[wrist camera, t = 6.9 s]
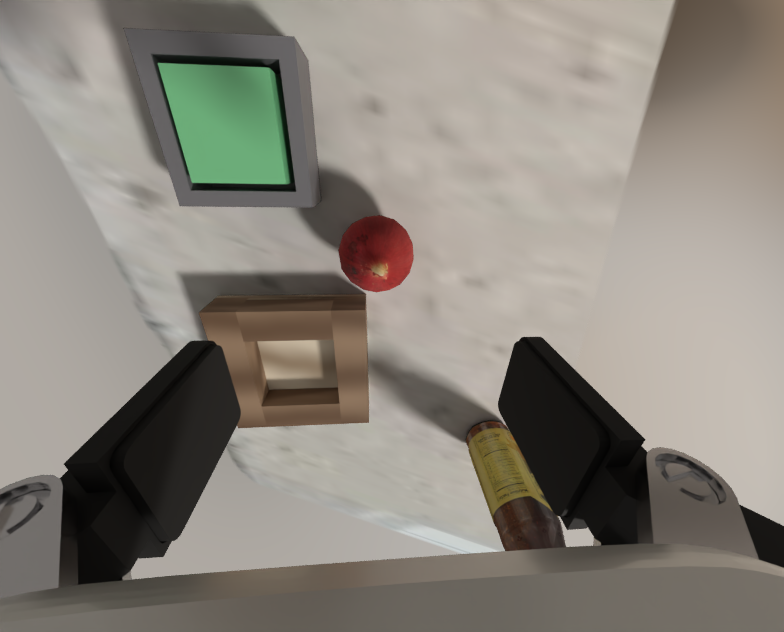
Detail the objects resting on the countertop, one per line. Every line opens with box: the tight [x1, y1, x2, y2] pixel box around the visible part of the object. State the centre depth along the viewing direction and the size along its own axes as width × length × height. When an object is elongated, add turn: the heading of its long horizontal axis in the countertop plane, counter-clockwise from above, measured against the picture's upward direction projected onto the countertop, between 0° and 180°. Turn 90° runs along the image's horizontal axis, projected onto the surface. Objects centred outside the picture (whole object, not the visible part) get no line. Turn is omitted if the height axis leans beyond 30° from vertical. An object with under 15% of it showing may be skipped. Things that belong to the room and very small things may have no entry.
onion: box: [338, 215, 413, 292], centre depth 22 cm, size 6×6×8 cm
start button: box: [158, 63, 295, 184], centre depth 19 cm, size 6×6×3 cm
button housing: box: [124, 28, 321, 207], centre depth 19 cm, size 9×9×4 cm
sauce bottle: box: [466, 421, 566, 551], centre depth 30 cm, size 7×6×20 cm
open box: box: [199, 294, 369, 428], centre depth 29 cm, size 14×14×4 cm
